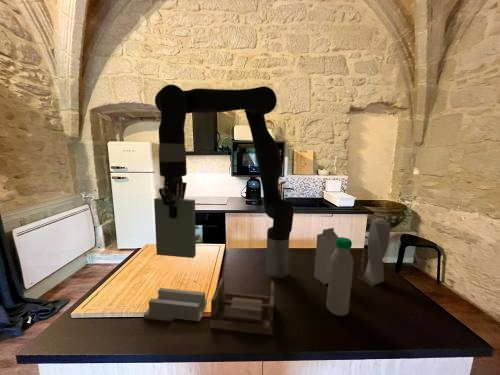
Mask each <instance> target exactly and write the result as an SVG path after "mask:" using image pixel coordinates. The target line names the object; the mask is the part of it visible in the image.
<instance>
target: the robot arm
mask: <svg viewBox="0 0 500 375" xmlns="http://www.w3.org/2000/svg"><path fill="white" fill-rule="evenodd" d="M277 102H278V100H277V95H276V93H275V91H274V89H272V88H271V87H269V86H264V85H263V86H258V87H252V88H246V89H245V88H243V89H240V88H239V89H223V88H222V89H220V88H202V87H201V88H200V87H198V88H197V87H196V88H191V89H188V90H183V89H182V88H181V87H180V86H178V85H176V84H166V85H164V86H163V87H162V88H161V89H160V90H158V92H157V93H156V95H155V97H154V103H155V106H156V108H157V110H158V111H160V123H159V126H158V143H159V145H158V163H159V164H158V165H159V166H158V167H159V168H158V169H159V175H160V177H164V181H163V187H161V188H159V189H158V192H159V195H160V198H162V201H163V203H164V205H167V206H169V217H170V218H177V206H176V205H177V199H185V195H186V190H187V184H188V183H187V182H185V181H183V180H184V179H183V177H185V176H187V174H188V173H187V169H188V168H187V150H186V138H185V137H186V136H185V135H186V134H185V127H186V126H185V125H186V119H187V118H186V117H187V114H217V113H218V114H219V113H225V112H226V113H227V112H232V111H233V112H234V111H242V110H243V111H244V114H245V116H246V120H247V123H248V126H249V129H250V133H251V140H252V143H253V147H254V151H255V158H256V163H257V169H258V172H259V176H260V177H259V178H260V183H261V188H262V196H263V207H264V212H265V214H266V215H267V217H269V218H270V219H272V221H273V222H272V226H271V227H269V228H268V229H267V232H266V255H265V256H266V258H265V259H266V260H265V261H266V262H265V275H266V276H269V277H270V278H273V279H282V278H283V279H284V278H287V277H288V276H289V275H290V266H291V265H290V264H291V262H290V261H291V253H290V250H289V248H290V235H291V232H292V230H293V222H294V206H293V204H292V202H290V201H289V200H286V199H284V198H282V197H281V193H280V187H279V180H280V176H281V174H282V173H281V172H282V167H283V166H282V159H281V152H280V148H279V146H278V144H277V142H276V141H275V139H274V137H273V136H272V134H271V133H270V132H269V130H268V126H267V124H266V118H265V115H267V114H270V113H271V112H273V111H274V110H275V108H276V106H277ZM172 198H173V199H172Z"/></svg>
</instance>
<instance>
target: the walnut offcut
mask: <svg viewBox="0 0 500 375" xmlns="http://www.w3.org/2000/svg"><path fill="white" fill-rule="evenodd" d="M222 320H225V321H234V322H242V323H251V324H260V325H263V309H262V312H261V320H257V319H248V318H239V317H230V306H227V305H225V307H224V310H223V313H222Z"/></svg>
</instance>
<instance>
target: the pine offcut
mask: <svg viewBox="0 0 500 375" xmlns="http://www.w3.org/2000/svg"><path fill="white" fill-rule="evenodd" d="M261 312H262V300H254V299H244V298H234V297H233V300H232V303H231V306H230V317H239V318H248V319H257V320H261Z"/></svg>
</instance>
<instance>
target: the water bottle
mask: <svg viewBox="0 0 500 375" xmlns="http://www.w3.org/2000/svg"><path fill="white" fill-rule="evenodd" d="M338 237H339V236H338ZM352 246H353V242H352V240H351V239H350V238H348V237H342V236H340V237H339V238H337V239H336V247H337V249H336V250H335V251H334V253H333V254H332V256H331V258H330V262H331V264H330V270H329V283H328V287H327V292H326V293H327V297H326V298H327V299H326V308H327V310H328V311H329V312H330V313H331V314H333V315H335V316H340V317H344V316H346V315H348V314H349V312H350V311H349V310H350V301H351V289H352V284H353V283H352V282H353V274H354V273H353V272H354V271H353V270H354V269H353V267H354V265H355V262H354V258H353V257H352V253H351V251H350V250H351V249H352Z"/></svg>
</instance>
